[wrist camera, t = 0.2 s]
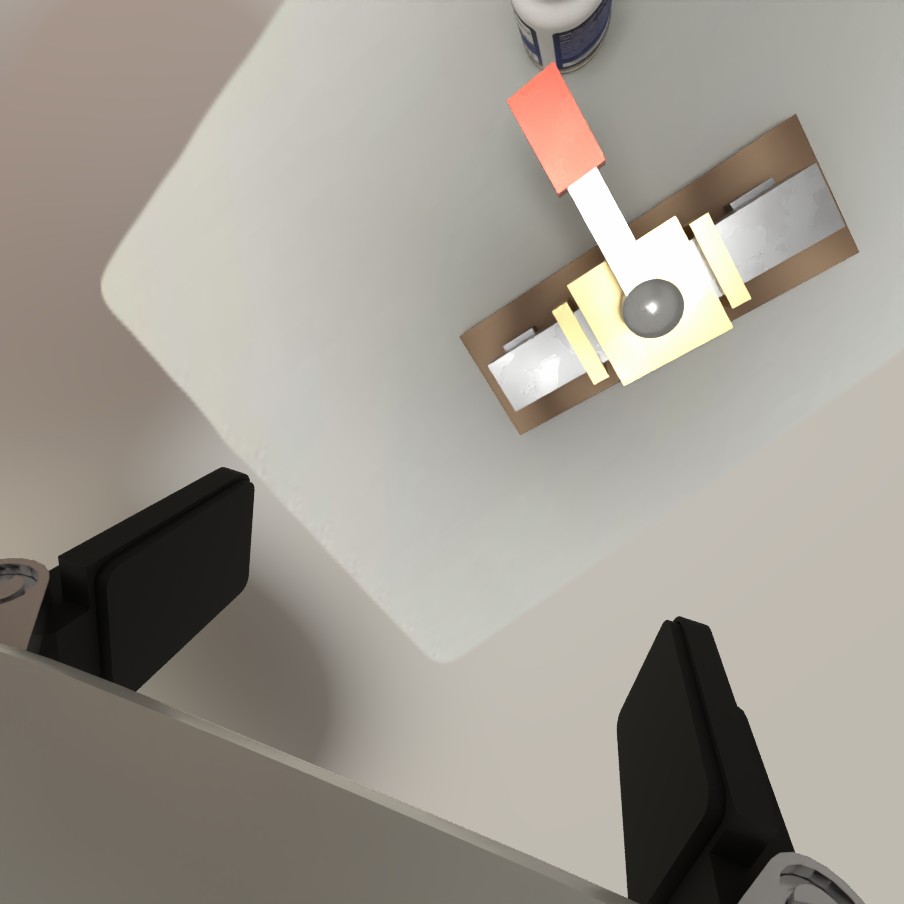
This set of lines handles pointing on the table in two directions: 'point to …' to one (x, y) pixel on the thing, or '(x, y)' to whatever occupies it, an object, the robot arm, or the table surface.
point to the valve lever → (593, 199)
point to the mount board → (707, 194)
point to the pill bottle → (562, 30)
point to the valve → (689, 268)
